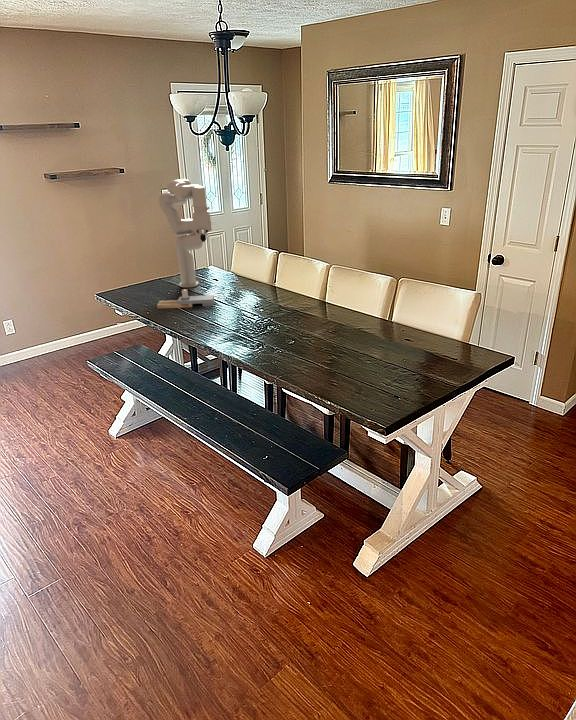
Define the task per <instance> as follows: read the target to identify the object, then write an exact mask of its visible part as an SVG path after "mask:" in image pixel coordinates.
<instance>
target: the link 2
mask: <svg viewBox="0 0 576 720" xmlns="http://www.w3.org/2000/svg"><path fill="white" fill-rule="evenodd" d="M177 300H178V301H177V302H178V304H193V305H194V304H202V307H214V304H215V295H214V294H212V295H211V294H210V295H209V294H208V295H204V294H203V295H188V300H183V297H182V296H179V297H178V299H177Z"/></svg>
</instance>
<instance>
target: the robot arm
mask: <svg viewBox="0 0 576 720" xmlns="http://www.w3.org/2000/svg"><path fill="white" fill-rule="evenodd" d="M166 189H167V192H163V193H160V195H159V196H158V204H159V207H160V209H161V211H162V213H163V214H164V216H165V217H166V219H167V222H168V224H169V227H170V229H171V232H172V233H173V235H174V236H176V238H175V239H174V246H175V249H176V253H177V260H178V267H179V275H180V276H179V277H180V283H179V284H178V286H179V287H180V288H187V289H188V288H194V287H196V286H197V287H198V285H199V283H200V282H199V281H197V280H196V279H197V277H196V270H195V260H194V256H193V255H192V253H190V251H194V250H199V249H202V247H203V246H204V243H205V242H206V240H207V233H209V232H211V231H212V230H213V228H212V220H211V215H210V212H209V210H210V206H208V204H207V196H206V188H205V187H204V186H202V185H200V184H191V181H190V180H189V179H186V178H181V179H172V180H170V181H169V182H168V183H167V185H166ZM188 200H192V205H193V207H192V208H193V211H192V218H185V219H183V218H182V216H181V214H180V211H178V210H177V209H176V208H174V207H175V206H182V205H183V206H184V205H185V204H187V202H188ZM173 206H174V207H173ZM202 230H203V231H202Z"/></svg>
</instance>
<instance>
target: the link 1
mask: <svg viewBox="0 0 576 720" xmlns="http://www.w3.org/2000/svg"><path fill="white" fill-rule="evenodd" d="M177 301H178V299H170V300H169V299H168V300H159V301H158V302H157V304H156V308H157V309H160V310H161V309H176V308H177V309H178V308H182V309H183V308H193V306H194V304H178V302H177Z"/></svg>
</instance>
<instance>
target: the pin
mask: <svg viewBox="0 0 576 720" xmlns="http://www.w3.org/2000/svg"><path fill="white" fill-rule="evenodd" d="M181 294H182V295H181V297H183V300H188V296H189V292H188V288H187V289H185V288H183V289H181Z"/></svg>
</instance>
